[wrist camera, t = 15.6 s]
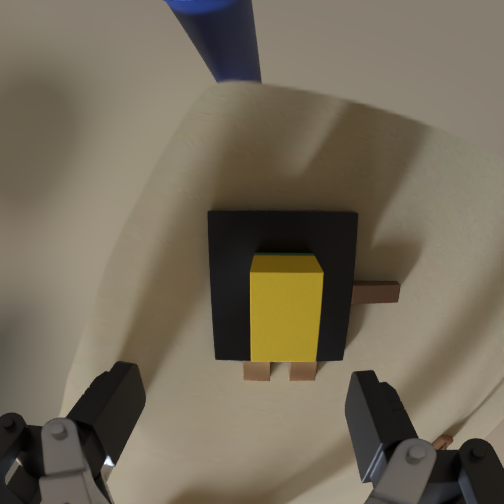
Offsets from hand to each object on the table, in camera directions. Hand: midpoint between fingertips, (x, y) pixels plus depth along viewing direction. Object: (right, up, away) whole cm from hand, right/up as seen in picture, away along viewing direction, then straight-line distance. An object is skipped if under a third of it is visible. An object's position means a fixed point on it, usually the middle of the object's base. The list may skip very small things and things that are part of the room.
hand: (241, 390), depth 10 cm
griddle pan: (+6, +1, +20) cm, 21 cm away
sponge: (+3, +1, +19) cm, 19 cm away
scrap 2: (+6, -8, +22) cm, 24 cm away
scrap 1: (+1, -8, +22) cm, 24 cm away
